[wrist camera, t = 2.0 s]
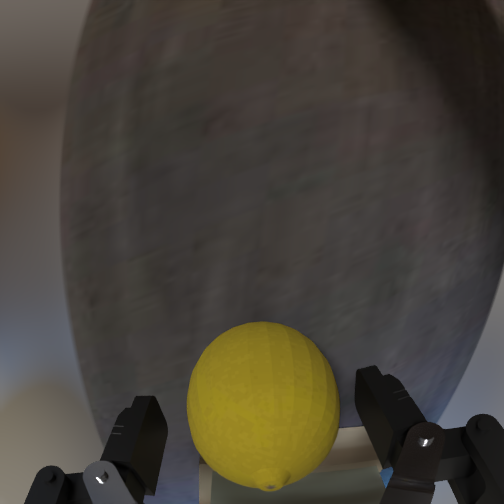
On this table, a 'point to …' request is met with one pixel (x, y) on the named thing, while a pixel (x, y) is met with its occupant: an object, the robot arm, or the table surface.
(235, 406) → the lemon
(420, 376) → the table surface
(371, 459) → the plinth
